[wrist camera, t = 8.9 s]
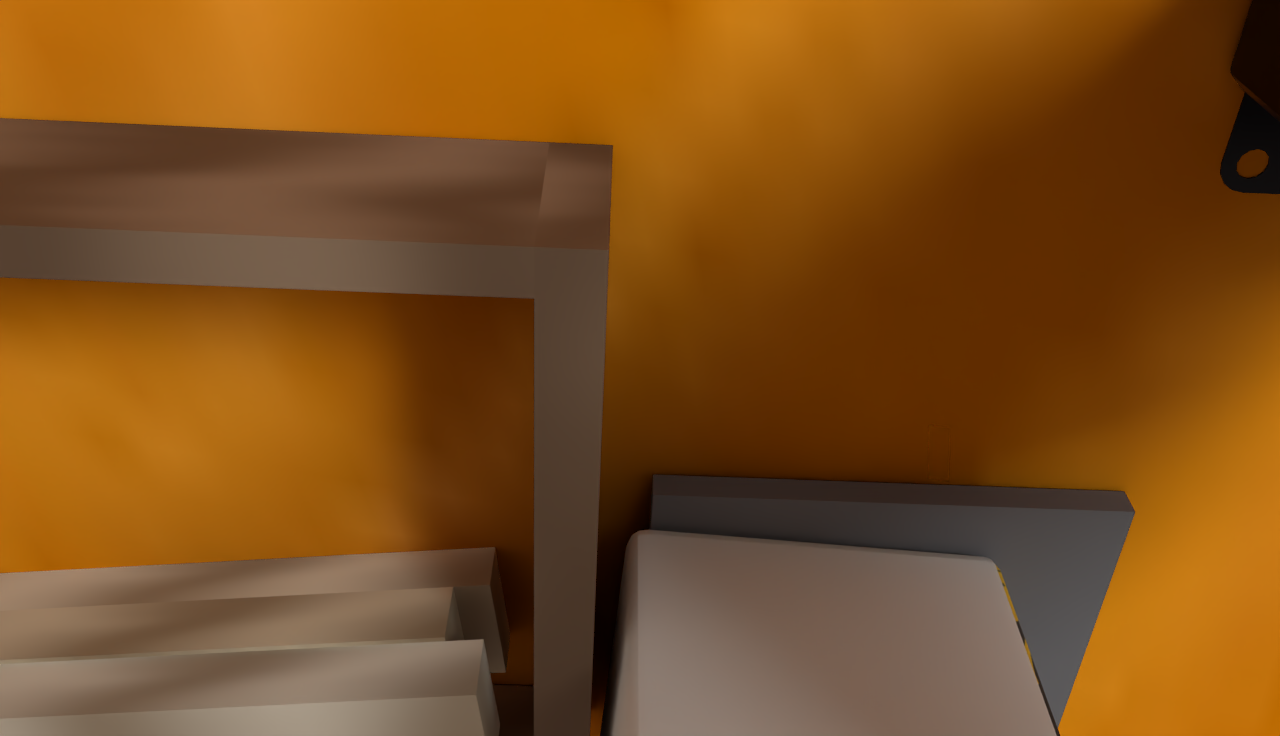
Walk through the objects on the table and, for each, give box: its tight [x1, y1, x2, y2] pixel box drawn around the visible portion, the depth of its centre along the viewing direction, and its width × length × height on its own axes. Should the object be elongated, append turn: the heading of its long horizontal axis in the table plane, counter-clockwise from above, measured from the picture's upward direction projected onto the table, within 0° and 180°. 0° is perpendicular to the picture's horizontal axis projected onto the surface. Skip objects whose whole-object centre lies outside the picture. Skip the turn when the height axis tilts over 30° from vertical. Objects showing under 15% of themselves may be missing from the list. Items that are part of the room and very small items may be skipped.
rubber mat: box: [649, 475, 1135, 728], centre depth 25 cm, size 9×9×1 cm
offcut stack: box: [0, 547, 510, 736], centre depth 23 cm, size 12×2×4 cm, turn 94°
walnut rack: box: [0, 118, 613, 736], centre depth 21 cm, size 16×13×4 cm
